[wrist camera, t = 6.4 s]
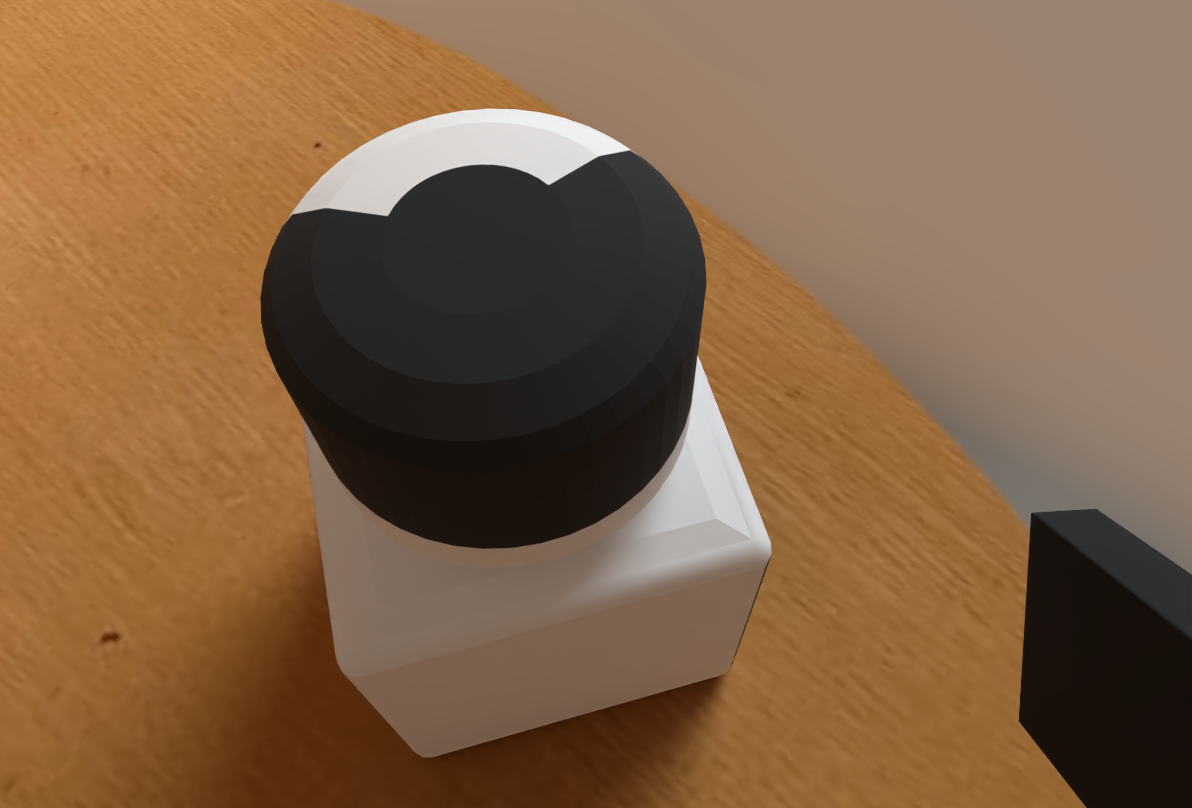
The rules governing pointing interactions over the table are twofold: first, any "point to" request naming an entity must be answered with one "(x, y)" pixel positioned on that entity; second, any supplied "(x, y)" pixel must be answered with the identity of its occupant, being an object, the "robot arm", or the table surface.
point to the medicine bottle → (510, 427)
